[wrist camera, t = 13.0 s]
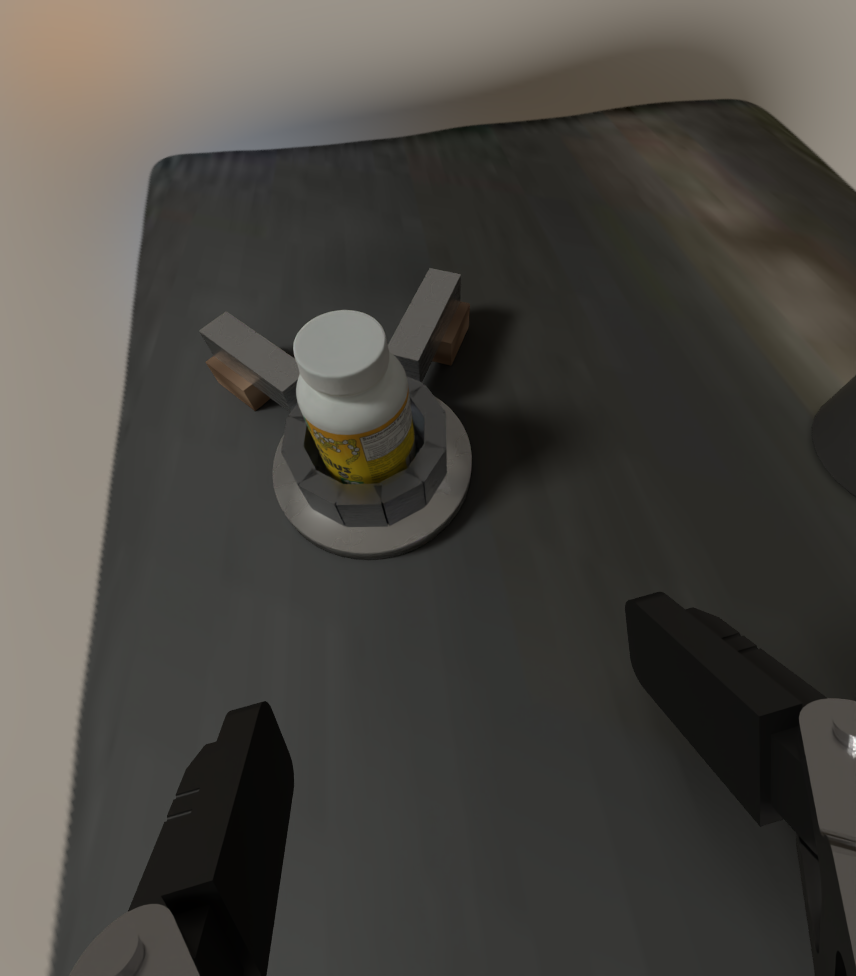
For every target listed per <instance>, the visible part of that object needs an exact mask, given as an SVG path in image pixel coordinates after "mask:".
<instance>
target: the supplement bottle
mask: <svg viewBox="0 0 856 976" xmlns="http://www.w3.org/2000/svg"><path fill="white" fill-rule="evenodd" d="M293 350H294V356H295V360H296V362H297V365H298V368H299V372H300V375H299V377H298V381H297V386H296V396H297V402H298V405H299V408H300V410H301V412H302V415H303V417H304V419H305V421H306V424H307V426H308V428H309V431H310V433H311V435H312V437H313V439H314V441H315V444H316V446H317V448H318V450H319V453H320V455H321V457H322V459H323V462H324V464H325V466H326V468H327V471H328V473H329V475H330V477H331V478H332V479H334V480H336V481H338V482H340V483H342V484H378V483H380V482H381V481H383V480H385V479H387V478H389V477H391V476H393V475H395V474H397V473H399V472H401V471H403V470H405V469H407V468H408V466H409V465H410V464H411V462H412V461H413V459H414V458H415V456H416V444H415V435H414V428H413V420H412V412H411V404H410V396H409V388H408V382H407V377H406V373H405V370H404V368H403V366H402V365H401V363H400V362H399V360H398V359H397V358H396V357H395V356H394V355H393V354H392V353H391V352H389V349H388V346H387V340H386V336H385V333H384V330H383V328H382V326H381V325H380V324H379V323H378V321H376V320H375V319H374V318H373V317H371V316H369V315H367V314H365V313H362V312H358V311H351V310H339V311H333V312H328V313H325V314H322V315H320V316H317V317H316V318H314V319H312V320H311V321H309V322H308V323H307V324H306V325H304V326H303V327H302V328H301V330H300V331H299V332H298V334H297V336H296V338H295V341H294V346H293Z"/></svg>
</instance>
